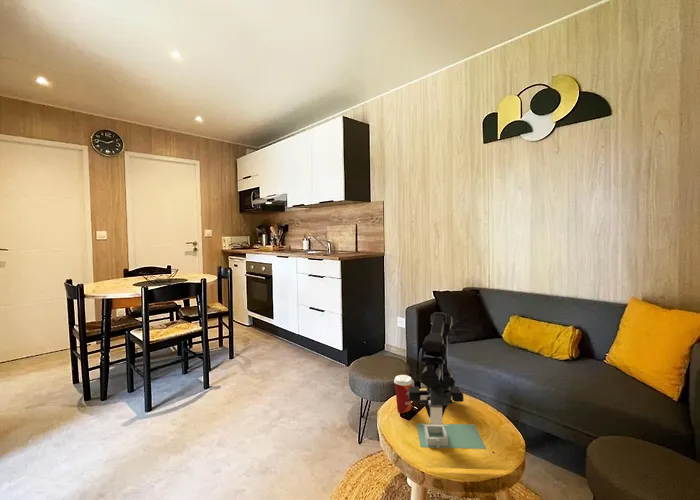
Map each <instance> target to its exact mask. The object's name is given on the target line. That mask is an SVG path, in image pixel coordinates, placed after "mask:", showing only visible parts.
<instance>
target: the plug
mask: <svg viewBox="0 0 700 500" xmlns="http://www.w3.org/2000/svg"><path fill="white" fill-rule="evenodd" d="M428 403H429V410H430V417H429V416H428V419H429V422H430V424H444V422H443V417H442V406H441V405H436V406H434V405H432V404H431V401H430V399H429V400H428Z"/></svg>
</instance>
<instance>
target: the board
mask: <svg viewBox="0 0 700 500" xmlns="http://www.w3.org/2000/svg"><path fill="white" fill-rule="evenodd" d="M416 428H417V435H418V439H419V446H420V448H430V449H431V448H436V449H441V448H442V449H473V450H474V449H475V450H476V449H477V450H478V449H479V450H481V449H484V450H487V446H486V445H485V443H484V441H483V439H482V437H481V435H480V433H479V430H478V428H477V427H476V424H471V423H470V424H466V423H443V424H431V423H419V422H417V423H416Z"/></svg>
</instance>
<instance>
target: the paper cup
mask: <svg viewBox="0 0 700 500" xmlns="http://www.w3.org/2000/svg"><path fill="white" fill-rule="evenodd" d="M393 383H394V387H395V388H394V389H395V398H396V407H397V412H398V413H400V414H402V413H404V412H407V413H408V412H410V411H411V409H412V401H409V396H408V388H409V387H413V380H412V377H411V376H409V375H407V374H398V375H396V376H395V377H394V379H393Z"/></svg>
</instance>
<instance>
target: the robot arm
mask: <svg viewBox="0 0 700 500" xmlns="http://www.w3.org/2000/svg"><path fill="white" fill-rule="evenodd" d="M430 325H431V328H430V332H429V334H427V335H426V336H425V337H424V341H423V342H422V347H421V356H420V359H421V360H420V362H421V363H425V367H424V369H423V371H422V374H421V377H420V378H421V382H422V384H423V385H424V386H425V387H426V389H425V390H424V389H423V390H421V389H420V387H419V386H412V387H409V388H408V396H409V401H411V402H419V403H420V404H423V405H424V407H425V410H426V413H427V416H428V418H429V417H430V410H429V400H430V401H431V404H432V405H434V406H436V405H441V406H442V418H443V417H444V415H445V413H446V409H447V407H448V405H450V404H453V402H455V403H462V402H464V393H463V391H462V389H461V387H459V386H457V385H456V381H455V377H453V371H452V370H451V368H450V367H449V348H448V346H449V345H448V343H449V342H448V336H449V333H450V332H451V328H452V327H453V316H451V315H450V314H447V313H444V312H437V311H435V312H433V313H432V314H431V315H430ZM428 397H429V400H428Z"/></svg>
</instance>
